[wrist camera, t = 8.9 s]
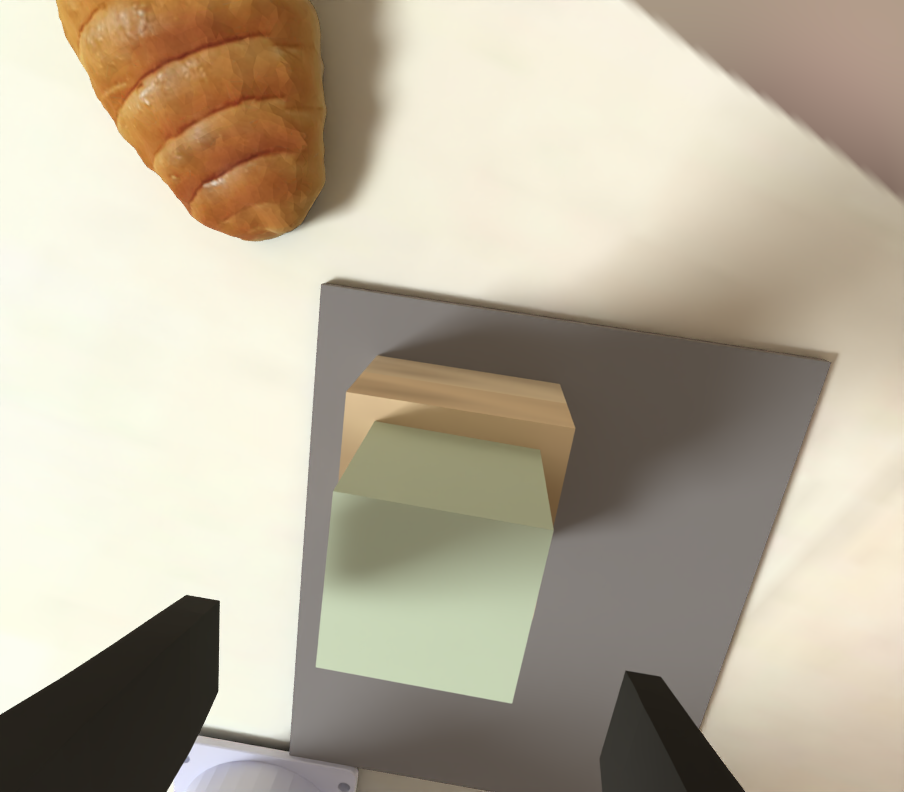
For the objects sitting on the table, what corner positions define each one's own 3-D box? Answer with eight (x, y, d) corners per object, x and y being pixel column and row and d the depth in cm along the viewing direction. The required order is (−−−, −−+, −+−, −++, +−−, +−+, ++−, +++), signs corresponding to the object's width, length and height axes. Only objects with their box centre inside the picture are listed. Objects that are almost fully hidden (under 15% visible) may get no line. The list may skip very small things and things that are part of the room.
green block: (509, 589, 16) (512, 703, 13) (357, 562, 17) (315, 667, 13) (540, 449, 15) (553, 530, 11) (374, 421, 15) (332, 491, 11)
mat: (662, 813, 24) (665, 822, 24) (292, 746, 25) (289, 755, 24) (824, 359, 18) (831, 362, 18) (324, 282, 19) (321, 284, 18)
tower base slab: (526, 543, 20) (529, 577, 19) (360, 516, 21) (346, 547, 19) (559, 383, 19) (566, 403, 17) (377, 355, 19) (363, 371, 17)
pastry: (388, 202, 18) (358, 200, 14) (198, 267, 19) (126, 280, 15) (273, -152, 15) (201, -263, 12) (62, -53, 17) (-63, -126, 13)
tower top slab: (529, 577, 19) (532, 619, 17) (346, 547, 19) (329, 584, 17) (566, 403, 17) (575, 428, 15) (363, 371, 17) (345, 391, 15)
